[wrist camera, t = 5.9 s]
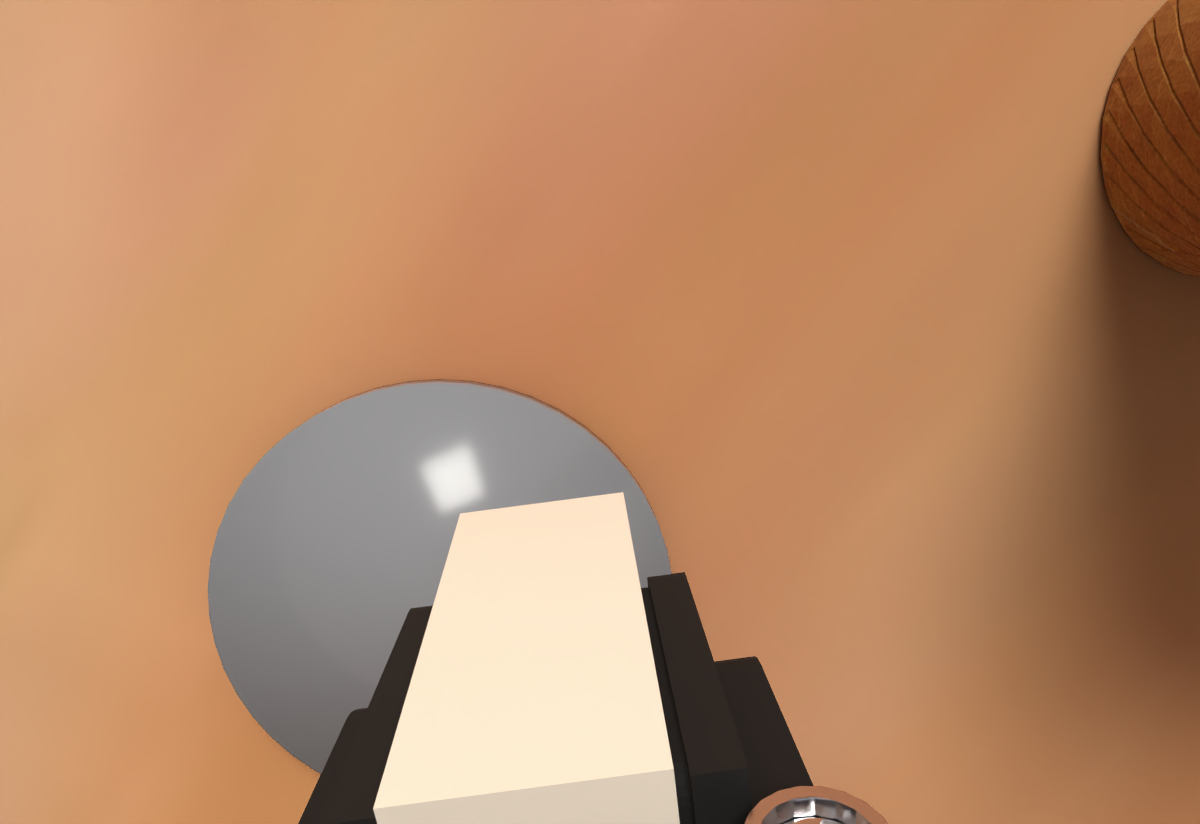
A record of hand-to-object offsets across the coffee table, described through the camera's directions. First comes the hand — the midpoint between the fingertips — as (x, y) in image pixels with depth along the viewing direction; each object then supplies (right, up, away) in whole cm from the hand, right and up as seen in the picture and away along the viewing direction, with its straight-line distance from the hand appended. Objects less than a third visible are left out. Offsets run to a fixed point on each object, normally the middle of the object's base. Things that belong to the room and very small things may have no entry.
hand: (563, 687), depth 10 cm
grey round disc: (-3, 0, +6) cm, 7 cm away
